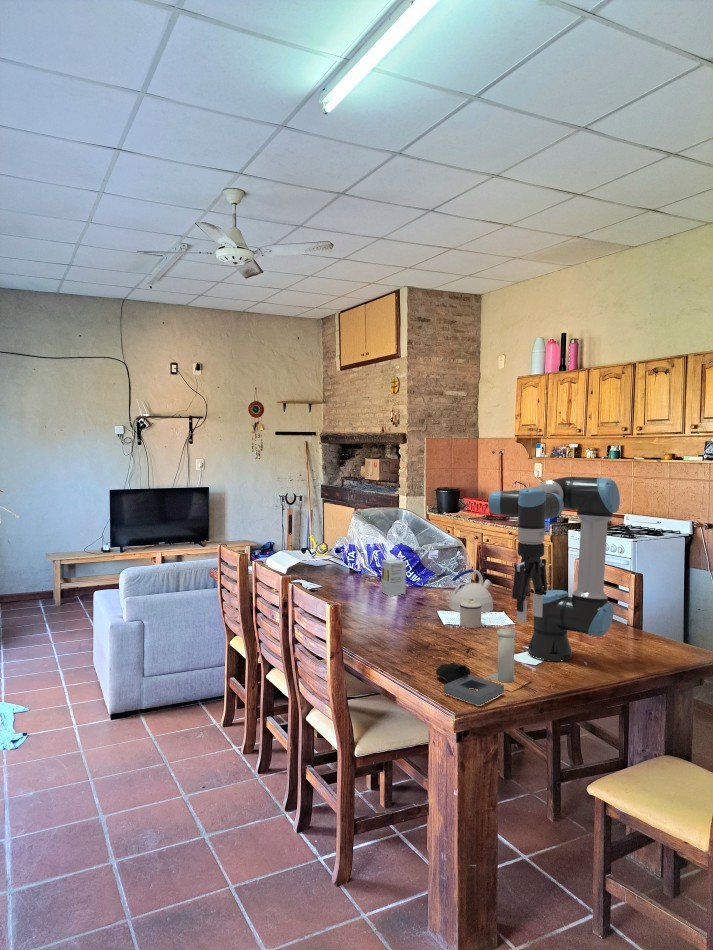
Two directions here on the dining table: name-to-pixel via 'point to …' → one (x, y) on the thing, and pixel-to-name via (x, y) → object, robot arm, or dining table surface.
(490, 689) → the housing
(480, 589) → the kettle
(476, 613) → the teacup with lid
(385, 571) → the supplement box
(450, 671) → the rock
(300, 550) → the dining table surface
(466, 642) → the dining table surface
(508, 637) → the cream upright pillar
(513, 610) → the dining table surface
